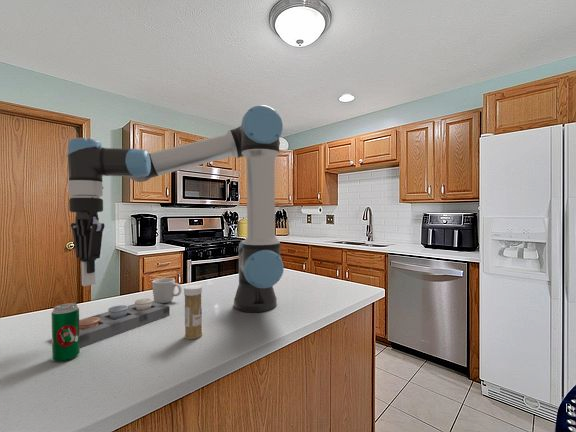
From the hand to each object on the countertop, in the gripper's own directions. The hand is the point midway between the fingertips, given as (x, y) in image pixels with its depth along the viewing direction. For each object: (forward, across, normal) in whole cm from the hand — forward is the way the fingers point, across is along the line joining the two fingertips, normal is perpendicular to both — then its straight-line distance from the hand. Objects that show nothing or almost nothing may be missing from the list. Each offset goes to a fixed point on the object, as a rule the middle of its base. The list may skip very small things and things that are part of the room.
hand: (88, 284), depth 79 cm
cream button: (+12, 0, -16) cm, 20 cm away
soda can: (+14, -8, +9) cm, 19 cm away
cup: (+14, +7, -30) cm, 34 cm away
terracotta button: (+13, 0, 0) cm, 13 cm away
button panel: (+14, 0, -8) cm, 16 cm away
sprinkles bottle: (+14, -25, -14) cm, 32 cm away
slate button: (+12, 0, -8) cm, 14 cm away
